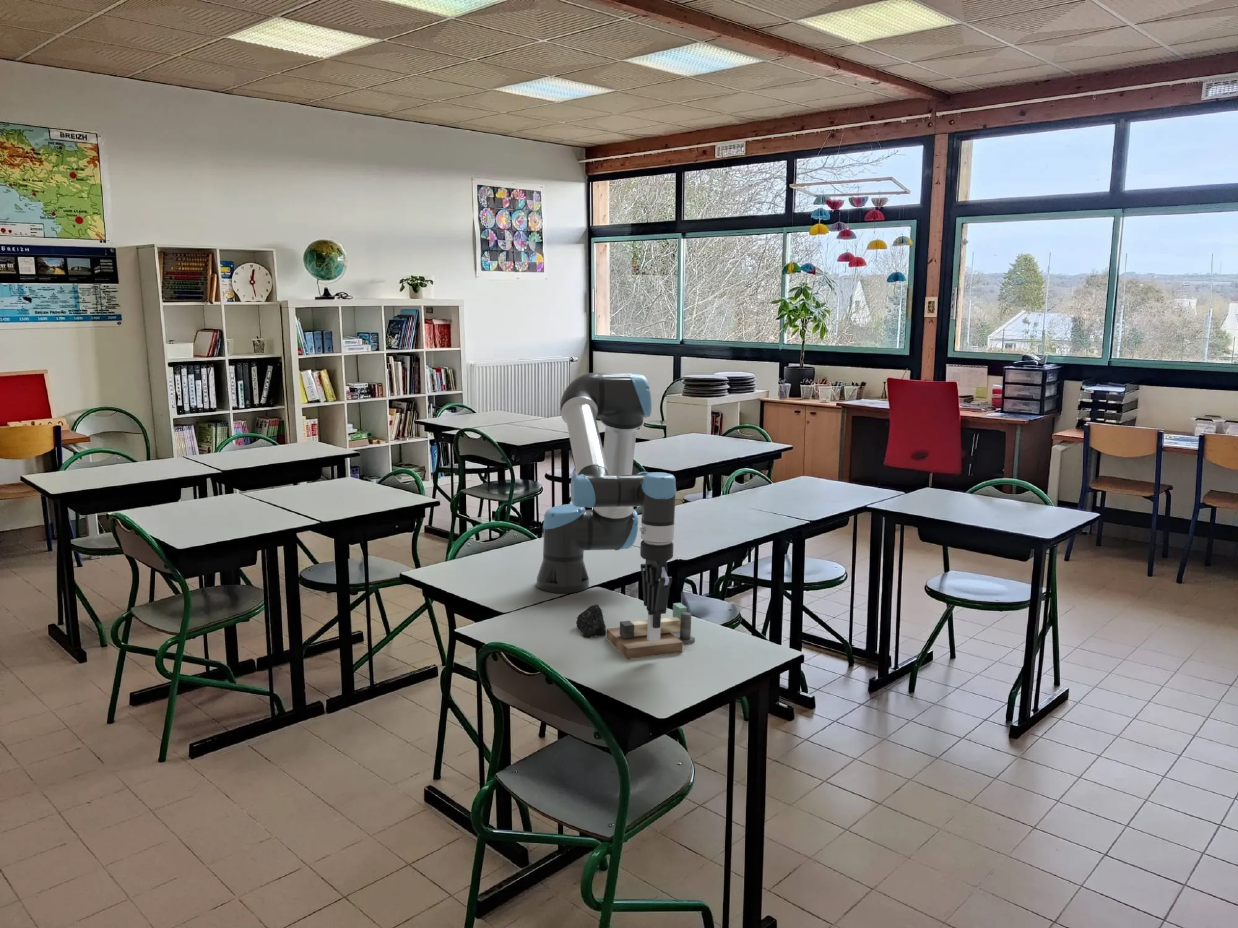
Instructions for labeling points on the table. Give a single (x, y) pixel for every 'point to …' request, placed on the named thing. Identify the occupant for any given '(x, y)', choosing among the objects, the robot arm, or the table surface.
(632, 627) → the leg
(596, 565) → the table surface
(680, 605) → the pale green block
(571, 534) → the robot arm
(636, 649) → the seat
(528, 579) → the table surface
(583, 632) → the rock
